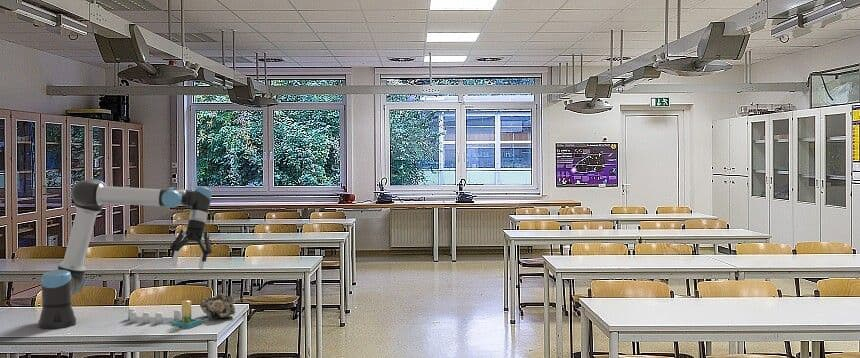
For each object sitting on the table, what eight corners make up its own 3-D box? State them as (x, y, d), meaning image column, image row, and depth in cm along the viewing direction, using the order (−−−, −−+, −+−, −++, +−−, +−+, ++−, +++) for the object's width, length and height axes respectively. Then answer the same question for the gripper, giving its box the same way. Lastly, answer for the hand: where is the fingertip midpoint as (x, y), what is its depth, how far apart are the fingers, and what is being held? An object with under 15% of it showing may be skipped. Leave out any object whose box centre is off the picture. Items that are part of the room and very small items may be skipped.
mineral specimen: (233, 313, 390) (233, 291, 389) (236, 320, 373) (236, 297, 373) (198, 315, 385) (198, 293, 385) (200, 322, 368) (200, 300, 368)
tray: (171, 327, 359) (171, 322, 359) (184, 322, 368) (184, 318, 368) (188, 328, 356) (188, 323, 356) (201, 324, 364) (201, 319, 364)
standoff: (179, 324, 361) (179, 301, 360) (185, 322, 364) (185, 300, 364) (187, 325, 359) (187, 302, 359) (193, 323, 363) (193, 300, 363)
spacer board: (117, 324, 365) (117, 312, 365) (134, 318, 379) (134, 306, 378) (170, 326, 360) (170, 314, 360) (186, 320, 374) (185, 308, 374)
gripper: (225, 225, 378) (215, 271, 372) (178, 221, 385) (167, 266, 380) (217, 221, 371) (207, 268, 365) (169, 216, 378) (158, 262, 373)
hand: (186, 267), depth 373 cm, fingers open, 13 cm apart
